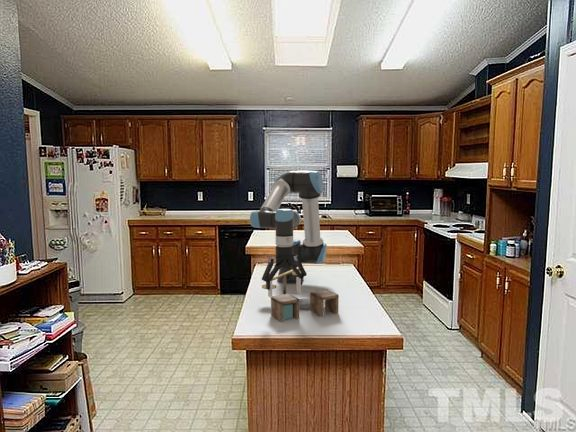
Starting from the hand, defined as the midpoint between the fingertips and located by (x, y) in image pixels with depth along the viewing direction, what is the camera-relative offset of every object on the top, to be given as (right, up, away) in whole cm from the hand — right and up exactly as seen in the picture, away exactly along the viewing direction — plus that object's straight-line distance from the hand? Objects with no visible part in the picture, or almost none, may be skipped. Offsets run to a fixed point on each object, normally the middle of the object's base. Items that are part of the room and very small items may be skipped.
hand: (284, 294), depth 170 cm
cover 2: (+17, -9, +7) cm, 21 cm away
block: (0, -10, +1) cm, 10 cm away
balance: (0, -7, +24) cm, 25 cm away
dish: (+9, -8, +16) cm, 20 cm away
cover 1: (0, -10, +1) cm, 10 cm away
